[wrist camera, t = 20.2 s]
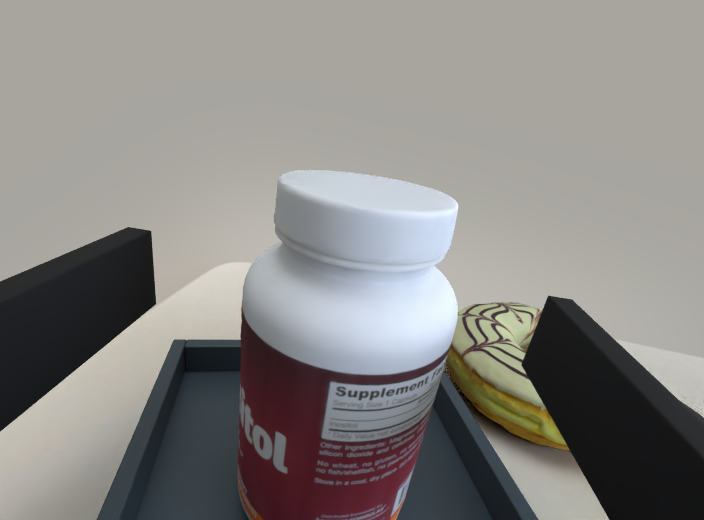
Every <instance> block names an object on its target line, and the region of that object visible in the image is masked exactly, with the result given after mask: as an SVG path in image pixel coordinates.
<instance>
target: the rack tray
mask: <svg viewBox="0 0 704 520" xmlns="http://www.w3.org/2000/svg"><path fill="white" fill-rule="evenodd" d="M240 369H241V340H187V341H186V340H174V341H173V343H172V345H171V348H170V350H169V352H168V355H167V357H166V359H165V362H164V364H163V366H162V369H161V371H160V373H159V376H158V378H157V380H156V383H155V385H154V387H153V390H152V392H151V394H150V397H149V399H148V401H147V404H146V406H145V408H144V411H143V413H142V415H141V418H140V420H139V422H138V425H137V427H136V429H135V432H134V434H133V436H132V439H131V441H130V443H129V446H128V448H127V450H126V453H125V455H124V457H123V460H122V462H121V464H120V467H119V469H118V471H117V474H116V476H115V478H114V481H113V483H112V485H111V488H110V490H109V492H108V495H107V497H106V499H105V502H104V504H103V506H102V509H101V511H100V513H99V516H98V518H97V520H249V519H248V517H247V515H246V513H245V511H244V509H243V506H242V503H241V500H240V496H239V490H238V476H237V466H238V440H239V409H240ZM396 520H538V518H537V517H536V515H535V514H534V512H533V510H532V509H531V507H530V506H529V504H528V503H527V501H526V499H525V498H524V496H523V495H522V493H521V491H520V490H519V488H518V487H517V485H516V484H515V482H514V480H513V479H512V477H511V476H510V474H509V472H508V471H507V469H506V468H505V466H504V465H503V463H502V461H501V460H500V458H499V457H498V455H497V454H496V452H495V450H494V449H493V447H492V446H491V444H490V442H489V441H488V439H487V438H486V436H485V435H484V433H483V431H482V430H481V428H480V427H479V425H478V423H477V422H476V420H475V419H474V417H473V416H472V414H471V412H470V411H469V409H468V408H467V406H466V404H465V403H464V401H463V400H462V398H461V397H460V395H459V393H458V392H457V390H456V389H455V387H454V385H453V384H452V382H451V381H450V379H449V378H448V376H447V374H446V373H445V371H444V370H443V373H442V376H441V379H440V383H439V387H438V390H437V393H436V396H435V399H434V403H433V406H432V410H431V413H430V416H429V419H428V423H427V426H426V429H425V433H424V436H423V440H422V443H421V446H420V449H419V453H418V456H417V459H416V462H415V466H414V469H413V472H412V476H411V479H410V483H409V486H408V489H407V493H406V497H405V500H404V502H403V505H402V507H401V509H400V512H399V514H398V516H397V518H396Z"/></svg>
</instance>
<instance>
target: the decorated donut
mask: <svg viewBox="0 0 704 520" xmlns="http://www.w3.org/2000/svg"><path fill="white" fill-rule="evenodd" d="M542 311H543V310H542V309H540V308H536V307H532V306H529V305H524V304H520V303H512V302H509V303H489V304H474V305H471V306H468V307H466V308H464V309H462V310H460V311H459V312H458V319H457V324H456V328H455V331H454V335H453V339H452V343H451V347H450V350H449V353H448V356H447V359H446V362H447V367H448V369H449V371H450V374H451V376H452V378H453V380H454V382H455V383H456V385H457V386H458V387H459V388H460V389H461V391H462V392H463V394H464V395H465V396H466V397H467V398H468V399H469V400H470V401H471V402H472V403H473V405H474V406H475V407H476V408H477V410H479V411H480V412H481V413H482V414H483V415H485V416H486V417H487V418H489V419H491V420H493V421H494V422H496V423H498V424H500V425H502V426H503V427H504V428H505V429H507V430H508V431H509V432H510V433H512V434H515V435H517V436H519V437H521V438H523V439H527V440H529V441H531V442H533V443H535V444H537V445H546V446H550V447H553V448H556V449H560V450H567V451H570V449H569V448H568V446H567V444H566V442H565V441H564V439H563V437H562V435H561V434H560V432H559V430H558V428H557V427H556V425H555V423H554V421H553V420H552V418H551V416H550V414H549V413H548V411H547V409H546V407H545V406H544V404H543V402H542V400H541V399H540V397H539V395H538V393H537V392H536V390H535V388H534V386H533V385H532V383H531V381H530V379H529V378H528V376H527V374H526V372H525V371H524V369H523V367H522V365H521V364H522V361H523V359H524V356H525V354H526V351H527V349H528V346H529V344H530V341H531V339H532V336H533V333H534V331H535V328H536V326H537V323H538V321H539V318H540V316H541V313H542Z"/></svg>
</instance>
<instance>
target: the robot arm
mask: <svg viewBox="0 0 704 520" xmlns="http://www.w3.org/2000/svg"><path fill="white" fill-rule="evenodd" d="M155 304H156V296H155V281H154V267H153V253H152V237H151V231H149V230H142V229H136V228H130V227H128V228H125V229H123V230H120V231H118V232H116V233H114V234H111V235H109V236H107V237H104V238H102V239H99V240H97V241H95V242H92V243H90V244H88V245H85V246H83V247H81V248H78V249H76V250H73V251H71V252H69V253H66V254H64V255H62V256H60V257H57V258H55V259H52V260H50V261H48V262H45V263H43V264H41V265H38V266H36V267H33V268H31V269H29V270H27V271H24V272H22V273H19V274H17V275H15V276H12V277H10V278H8V279H5V280H3V281H1V282H0V431H1V430H3V429H4V428H5V427H6V426H8V425H9V424H10V423H11V422H12V421H14V420H15V419H16V418H17V417H19V416H20V415H21V414H22V413H23V412H25V411H26V410H27V409H28V408H30V407H31V406H32V405H33V404H34V403H36V402H37V401H38V400H39V399H41V398H42V397H43V396H44V395H45V394H47V393H48V392H49V391H50V390H52V389H53V388H54V387H55V386H56V385H58V384H59V383H60V382H61V381H63V380H64V379H65V378H66V377H67V376H69V375H70V374H71V373H72V372H74V371H75V370H76V369H77V368H78V367H80V366H81V365H82V364H83V363H85V362H86V361H87V360H88V359H89V358H91V357H92V356H93V355H94V354H96V353H97V352H98V351H99V350H100V349H102V348H103V347H104V346H105V345H107V344H108V343H109V342H110V341H111V340H113V339H114V338H115V337H116V336H117V335H119V334H120V333H121V332H122V331H124V330H125V329H126V328H127V327H128V326H130V325H131V324H132V323H133V322H135V321H136V320H137V319H138V318H139V317H141V316H142V315H143V314H144V313H146V312H147V311H148V310H149V309H150V308H152V307H153V306H154V305H155ZM521 365H522V367H523V369H524V371H525V372H526V374H527V376H528V378H529V379H530V381H531V383H532V385H533V386H534V388H535V390H536V392H537V393H538V395H539V397H540V399H541V400H542V402H543V404H544V406H545V407H546V409H547V411H548V413H549V414H550V416H551V418H552V420H553V421H554V423H555V425H556V427H557V428H558V430H559V432H560V434H561V435H562V437H563V439H564V441H565V442H566V444H567V446H568V448H569V449H570V451H571V453H572V455H573V456H574V458H575V460H576V462H577V463H578V465H579V467H580V469H581V470H582V472H583V474H584V476H585V477H586V479H587V481H588V483H589V484H590V486H591V488H592V490H593V491H594V493H595V495H596V497H597V498H598V500H599V502H600V504H601V505H602V507H603V509H604V511H605V512H606V514H607V516H608V518H609V519H610V520H704V418H703V417H702V416H701V415H700V414H698V413H697V412H695V411H694V410H692V409H691V408H690V407H688V406H687V405H685V404H684V403H682V402H681V401H679V400H678V399H677V398H676V397H675V396H674V395H673V394H672V393H671V392H669V391H668V390H667V389H666V388H665V387H664V386H663V385H662V384H661V383H660V382H659V381H658V380H657V379H656V378H655V377H654V376H653V375H651V374H650V373H649V372H648V371H647V370H646V369H645V368H644V367H643V366H642V365H641V364H640V363H639V362H638V361H637V360H636V359H634V358H633V357H632V356H631V355H630V354H629V353H628V352H627V351H626V350H625V349H624V348H623V347H622V346H621V345H620V344H619V343H617V342H616V341H615V340H614V339H613V338H612V337H611V336H610V335H609V334H608V333H607V332H605V330H604V329H603V328H601V326H599V325H598V324H597V323H596V322H595V321H594V320H593V319H592V318H591V317H590V316H589V315H587V313H586V312H585V311H583V310H582V309H581V308H580V307H579V306H578V305H577V304H576V303H575V302H574V301H573V300H571V299H565V298H559V297H552V296H548V298H547V300H546V303H545V306H544V308H543V311H542V313H541V316H540V318H539V321H538V323H537V326H536V328H535V331H534V333H533V336H532V339H531V341H530V344H529V346H528V349H527V351H526V354H525V356H524V359H523V361H522V364H521Z"/></svg>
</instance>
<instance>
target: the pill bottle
mask: <svg viewBox="0 0 704 520" xmlns="http://www.w3.org/2000/svg"><path fill="white" fill-rule="evenodd" d="M457 212H458V204H457V202H456V201H455V200H454V199H453V198H451V197H450V196H448V195H446V194H444V193H442V192H440V191H437V190H434V189H431V188H428V187H424V186H421V185H417V184H413V183H409V182H404V181H400V180H395V179H390V178H385V177H379V176H372V175H365V174H358V173H349V172H339V171H326V170H300V171H291V172H288V173H285V174H283V175H282V176H280V178H279V180H278V187H277V198H276V208H275V214H274V222H275V232H276V235H277V236H278V238H279V239H280V240H281V242H279V243H277V244H275V245H273V246H272V247H270V248H269V249H267V250H266V251H264V252H263V253H262V254H261V255H260V256H259V257H258V258H257V259H256V260H255V261H254V263H253V264H252V265H251V267H250V269H249V271H248V273H247V275H246V278H245V282H244V286H243V300H242V308H241V310H242V316H241V317H242V324H241V369H240V409H239V440H238V466H237V476H238V490H239V496H240V500H241V503H242V506H243V509H244V511H245V513H246V515H247V517H248V519H249V520H396V518H397V516H398V514H399V512H400V509H401V507H402V505H403V502H404V500H405V497H406V493H407V489H408V486H409V483H410V479H411V476H412V472H413V469H414V466H415V462H416V459H417V456H418V453H419V449H420V446H421V443H422V440H423V436H424V433H425V429H426V426H427V423H428V419H429V416H430V413H431V410H432V406H433V403H434V399H435V396H436V393H437V390H438V387H439V383H440V379H441V376H442V373H443V370H444V366H445V363H446V359H447V356H448V353H449V350H450V347H451V343H452V339H453V335H454V331H455V328H456V324H457V319H458V307H457V300H456V297H455V294H454V291H453V289H452V287H451V285H450V284H449V282H448V280H447V279H446V278H445V276H444V275H443V274H442V273H441V272H440V271H439V270H438V269H437V268H436V267H435V266H434V265H436V264H438V263H439V262H440V261H442V260H443V258H444V256H445V254H446V252H447V251H448V250H449V248H450V246H451V241H452V237H453V232H454V227H455V222H456V217H457Z"/></svg>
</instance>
